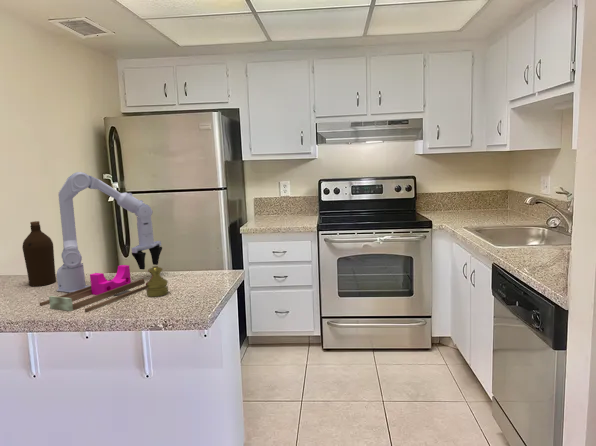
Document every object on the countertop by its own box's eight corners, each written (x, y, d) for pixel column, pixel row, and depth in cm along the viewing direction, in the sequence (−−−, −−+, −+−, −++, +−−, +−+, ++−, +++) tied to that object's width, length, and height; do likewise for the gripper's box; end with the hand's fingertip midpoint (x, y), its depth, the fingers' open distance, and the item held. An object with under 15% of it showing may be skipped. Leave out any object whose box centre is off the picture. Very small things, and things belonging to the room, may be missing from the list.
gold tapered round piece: (168, 289, 163) (165, 262, 162) (168, 295, 156) (166, 267, 155) (147, 292, 161) (144, 265, 160) (146, 298, 154) (143, 269, 153)
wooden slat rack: (37, 306, 151) (36, 294, 150) (114, 280, 180) (113, 270, 180) (84, 312, 142) (83, 300, 141) (157, 284, 171) (156, 274, 171)
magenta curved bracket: (104, 296, 160) (102, 275, 159) (92, 295, 162) (89, 274, 161) (136, 284, 173) (134, 265, 172) (123, 283, 176) (121, 264, 175)
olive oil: (58, 283, 180) (50, 221, 176) (27, 288, 175) (18, 224, 171) (57, 278, 189) (49, 219, 185) (28, 282, 184) (19, 221, 180)
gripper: (140, 237, 172) (143, 271, 174) (165, 230, 185) (168, 263, 187) (126, 236, 175) (129, 270, 177) (152, 230, 188) (155, 262, 190)
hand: (149, 266), depth 182 cm, fingers open, 7 cm apart
